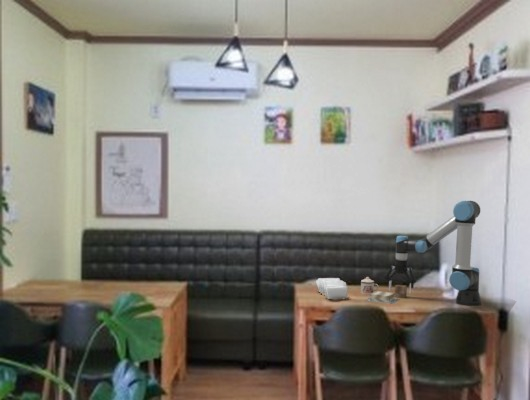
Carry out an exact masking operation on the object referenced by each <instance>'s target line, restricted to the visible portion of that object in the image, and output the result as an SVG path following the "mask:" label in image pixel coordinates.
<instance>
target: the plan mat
mask: <svg viewBox="0 0 530 400" xmlns="http://www.w3.org/2000/svg"><path fill="white" fill-rule="evenodd" d="M400 299H401V298H394V300H392V301H391V302H389V303H387V302H379V301H371V300H370V297H369V298H367V299H365V300H364V301H367V302H375V303H381V304H382V303H383V304H394V303H397V302H398V301H400Z"/></svg>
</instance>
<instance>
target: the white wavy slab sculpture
mask: <svg viewBox="0 0 530 400" xmlns="http://www.w3.org/2000/svg"><path fill="white" fill-rule="evenodd" d="M315 284H316V286H317V290H318V292H321V293H325V295H324V297H325V298H326V297H328V298H327V300H328V299H343V298H346V299H347V298H348V290H349V287H348V286H347V282H346V281H343V280H341V279H340V278H339V277H326V278H324V277H323V278H321V277H320V278H317V279H316V281H315ZM321 293H320V294H321ZM343 300H344V299H343Z"/></svg>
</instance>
